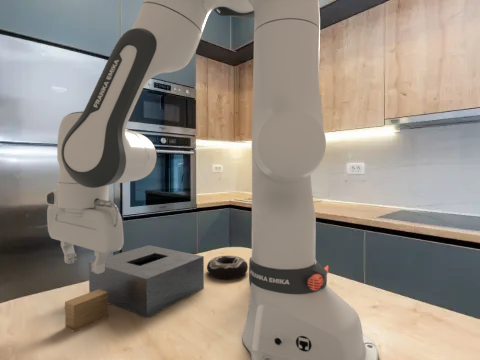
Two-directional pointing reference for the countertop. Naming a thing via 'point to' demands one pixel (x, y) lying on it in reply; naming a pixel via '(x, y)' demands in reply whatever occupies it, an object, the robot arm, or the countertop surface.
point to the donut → (227, 267)
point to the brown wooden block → (86, 309)
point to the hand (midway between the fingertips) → (83, 267)
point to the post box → (149, 278)
